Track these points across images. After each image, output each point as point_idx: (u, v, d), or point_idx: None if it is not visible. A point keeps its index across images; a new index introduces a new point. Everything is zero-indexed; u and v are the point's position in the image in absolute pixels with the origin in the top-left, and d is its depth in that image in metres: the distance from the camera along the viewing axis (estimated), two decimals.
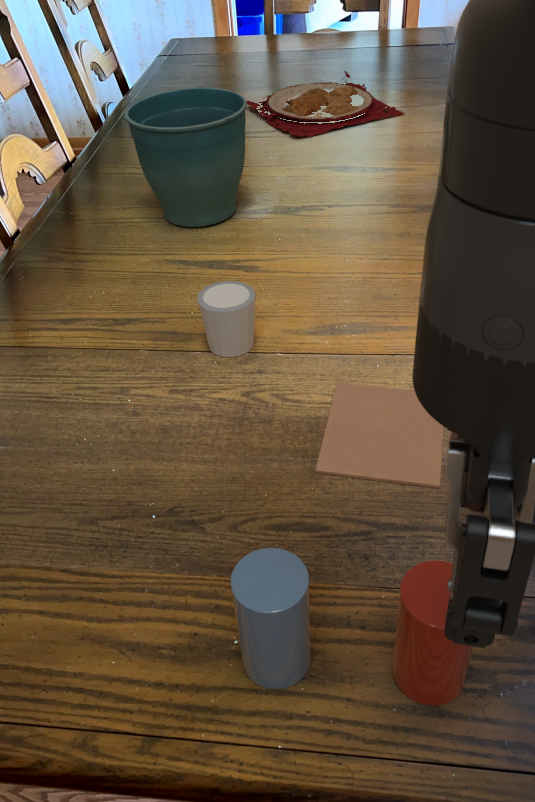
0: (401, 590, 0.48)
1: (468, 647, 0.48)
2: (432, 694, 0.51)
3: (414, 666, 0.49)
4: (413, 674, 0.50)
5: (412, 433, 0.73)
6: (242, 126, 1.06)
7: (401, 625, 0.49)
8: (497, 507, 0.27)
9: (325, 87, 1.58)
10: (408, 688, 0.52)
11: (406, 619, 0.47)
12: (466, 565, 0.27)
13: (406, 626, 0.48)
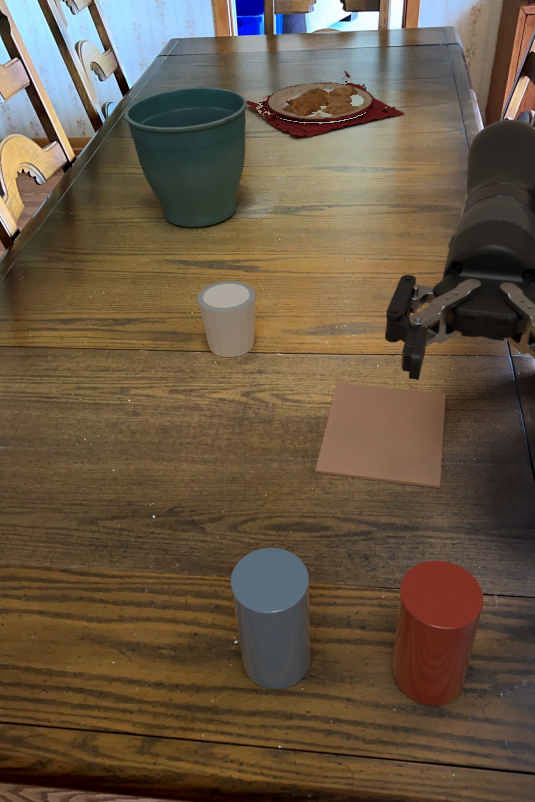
0: (401, 590, 0.48)
1: (468, 647, 0.48)
2: (432, 694, 0.51)
3: (414, 666, 0.49)
4: (413, 674, 0.50)
5: (412, 433, 0.73)
6: (242, 126, 1.06)
7: (401, 625, 0.49)
8: None
9: (325, 87, 1.58)
10: (408, 688, 0.52)
11: (406, 619, 0.47)
12: None
13: (406, 626, 0.48)
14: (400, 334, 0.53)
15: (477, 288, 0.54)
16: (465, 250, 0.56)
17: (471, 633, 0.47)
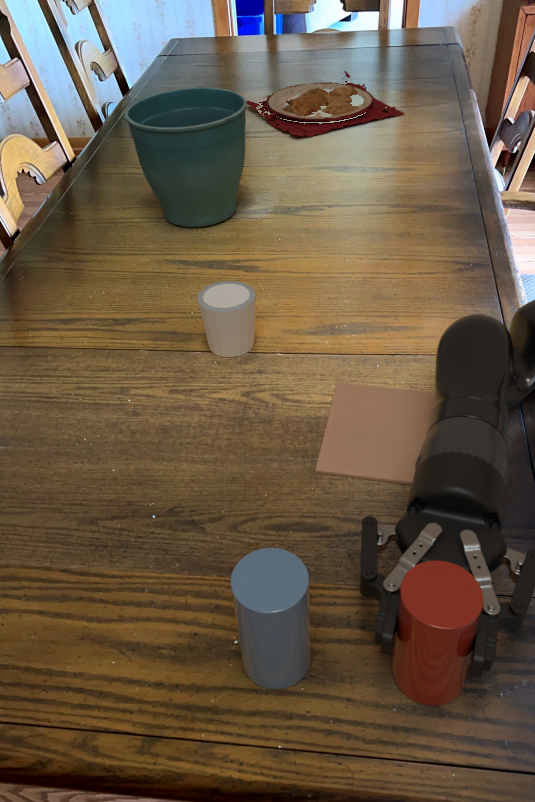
0: (401, 590, 0.48)
1: (468, 647, 0.48)
2: (432, 694, 0.51)
3: (415, 666, 0.49)
4: (413, 674, 0.50)
5: (412, 433, 0.73)
6: (242, 126, 1.06)
7: (401, 625, 0.49)
8: None
9: (325, 87, 1.58)
10: (408, 688, 0.52)
11: (406, 619, 0.47)
12: None
13: (407, 627, 0.48)
14: (374, 594, 0.53)
15: (439, 535, 0.54)
16: (428, 489, 0.56)
17: (471, 633, 0.47)
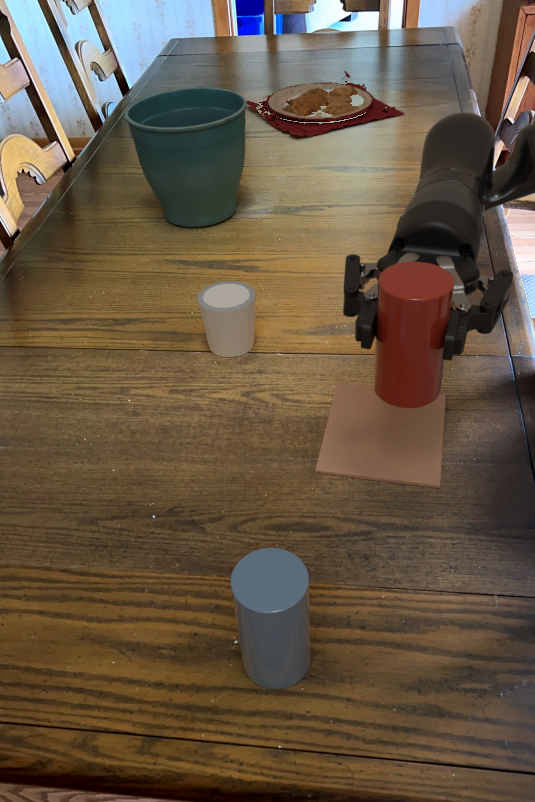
0: (379, 279, 0.52)
1: (441, 333, 0.52)
2: (409, 391, 0.55)
3: (392, 358, 0.54)
4: (391, 370, 0.54)
5: (412, 433, 0.73)
6: (242, 126, 1.06)
7: (379, 316, 0.53)
8: None
9: (325, 87, 1.58)
10: (387, 391, 0.56)
11: (384, 303, 0.52)
12: (508, 284, 0.56)
13: (384, 312, 0.52)
14: (356, 308, 0.57)
15: (417, 260, 0.58)
16: (407, 227, 0.60)
17: (443, 313, 0.51)
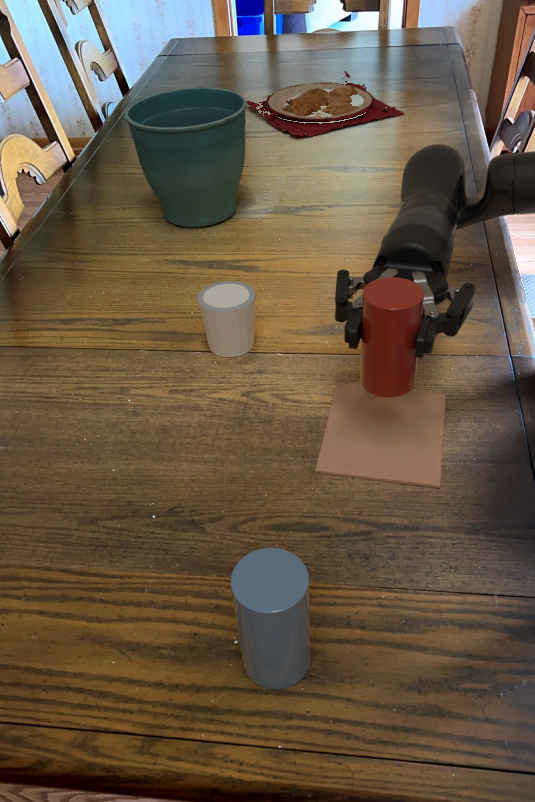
0: (363, 292, 0.64)
1: (413, 335, 0.64)
2: (389, 383, 0.67)
3: (374, 356, 0.66)
4: (374, 366, 0.66)
5: (412, 433, 0.73)
6: (242, 126, 1.06)
7: (364, 322, 0.65)
8: None
9: (325, 87, 1.58)
10: (371, 383, 0.68)
11: (367, 311, 0.63)
12: (471, 295, 0.68)
13: (367, 319, 0.64)
14: (345, 315, 0.69)
15: (396, 275, 0.70)
16: (388, 246, 0.72)
17: (415, 320, 0.63)
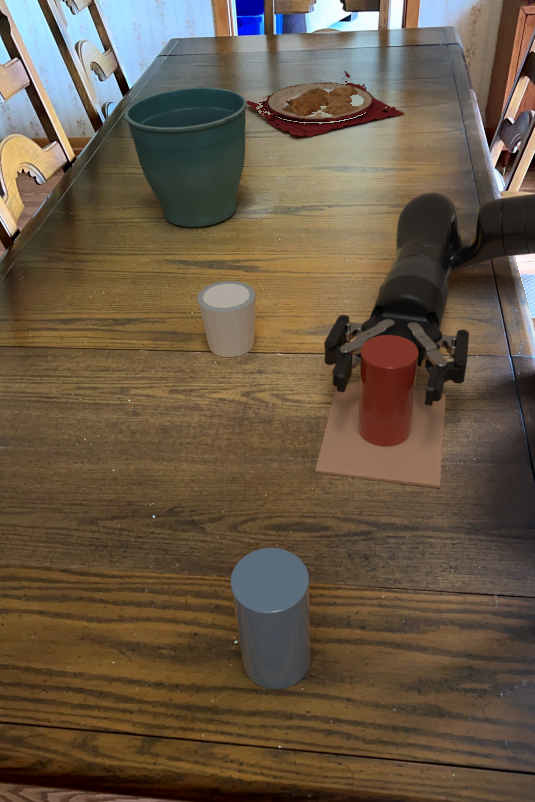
0: (361, 350, 0.68)
1: (408, 391, 0.68)
2: (385, 434, 0.71)
3: (372, 409, 0.70)
4: (371, 418, 0.70)
5: (412, 433, 0.73)
6: (242, 126, 1.06)
7: (362, 377, 0.69)
8: None
9: (325, 87, 1.58)
10: (369, 433, 0.72)
11: (365, 368, 0.68)
12: (468, 341, 0.72)
13: (365, 375, 0.68)
14: (334, 359, 0.73)
15: (391, 326, 0.74)
16: (385, 297, 0.76)
17: (410, 377, 0.67)
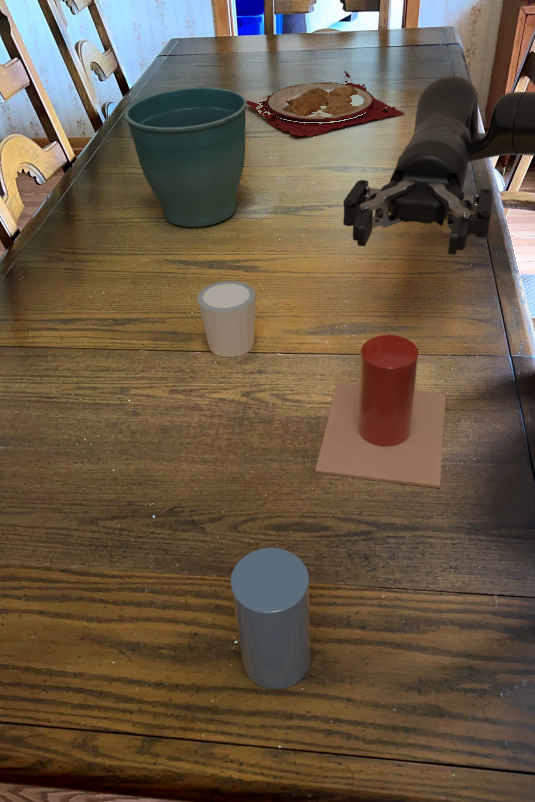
0: (361, 350, 0.68)
1: (408, 391, 0.68)
2: (385, 434, 0.71)
3: (372, 409, 0.70)
4: (371, 418, 0.70)
5: (412, 433, 0.73)
6: (242, 126, 1.06)
7: (362, 377, 0.69)
8: None
9: (325, 87, 1.58)
10: (369, 433, 0.72)
11: (364, 368, 0.68)
12: (491, 198, 0.70)
13: (365, 375, 0.68)
14: (353, 218, 0.71)
15: (412, 186, 0.72)
16: (405, 160, 0.74)
17: (410, 377, 0.67)
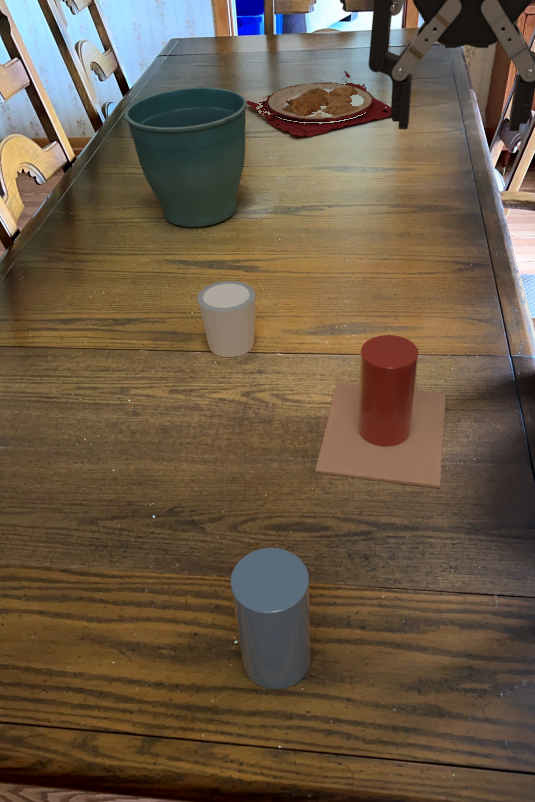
0: (361, 350, 0.68)
1: (408, 391, 0.68)
2: (385, 434, 0.71)
3: (372, 409, 0.70)
4: (371, 418, 0.70)
5: (412, 433, 0.73)
6: (242, 126, 1.06)
7: (362, 377, 0.69)
8: None
9: (325, 87, 1.58)
10: (369, 433, 0.72)
11: (365, 368, 0.68)
12: None
13: (365, 375, 0.68)
14: None
15: (457, 14, 0.51)
16: None
17: (410, 377, 0.67)
